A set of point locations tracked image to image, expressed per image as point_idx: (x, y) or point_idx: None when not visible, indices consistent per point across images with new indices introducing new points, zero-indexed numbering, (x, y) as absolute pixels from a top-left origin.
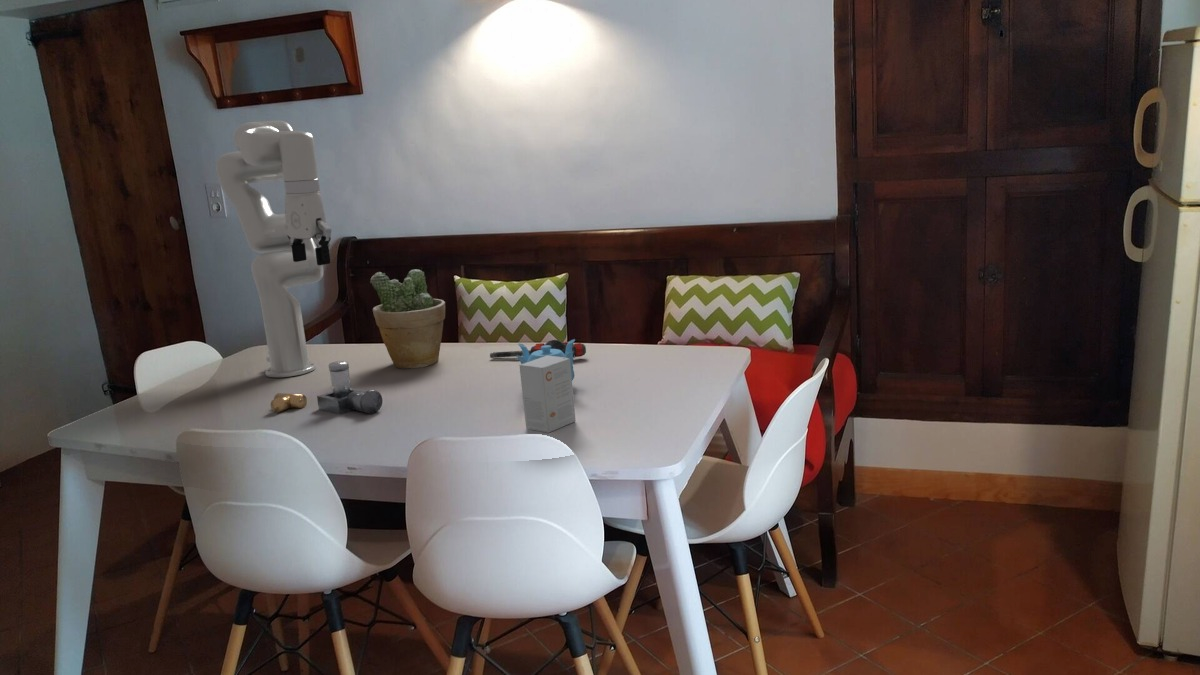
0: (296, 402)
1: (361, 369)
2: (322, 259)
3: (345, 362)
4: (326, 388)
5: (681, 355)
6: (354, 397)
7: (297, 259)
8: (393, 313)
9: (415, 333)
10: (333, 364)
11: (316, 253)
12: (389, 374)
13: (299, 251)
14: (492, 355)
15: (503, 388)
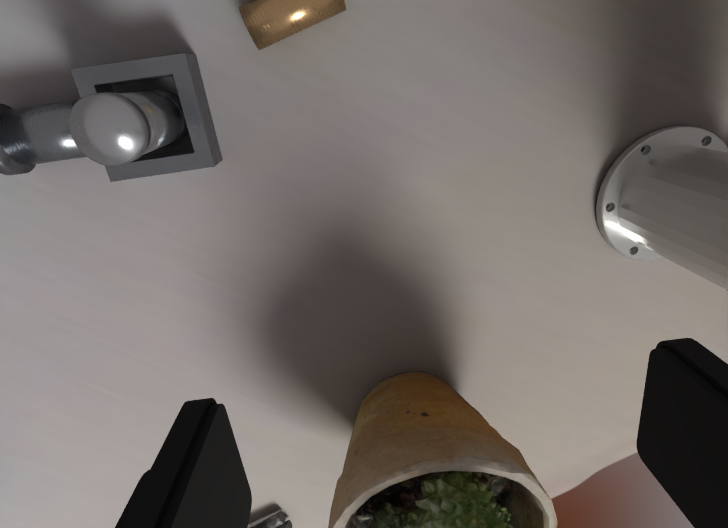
0: (242, 5)
1: (487, 316)
2: (143, 478)
3: (93, 152)
4: (396, 175)
5: None
6: (44, 112)
7: (662, 379)
8: (381, 479)
9: (347, 462)
10: (97, 109)
11: (142, 512)
12: (373, 334)
13: (723, 480)
14: (274, 517)
15: (16, 423)
